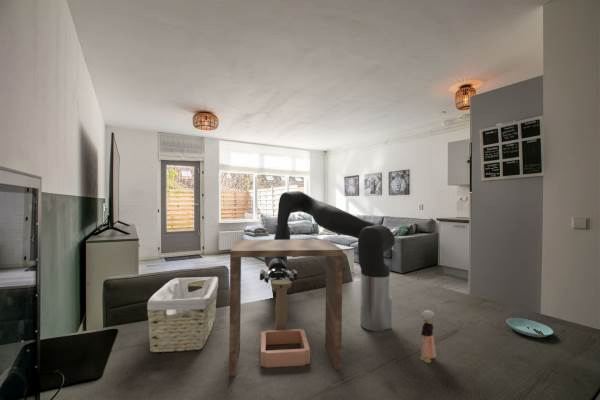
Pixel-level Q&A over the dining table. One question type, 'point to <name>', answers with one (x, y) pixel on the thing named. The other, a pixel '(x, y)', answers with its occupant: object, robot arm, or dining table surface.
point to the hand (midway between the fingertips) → (279, 280)
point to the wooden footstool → (289, 250)
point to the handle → (281, 302)
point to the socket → (284, 356)
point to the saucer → (522, 325)
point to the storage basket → (182, 314)
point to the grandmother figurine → (427, 337)
